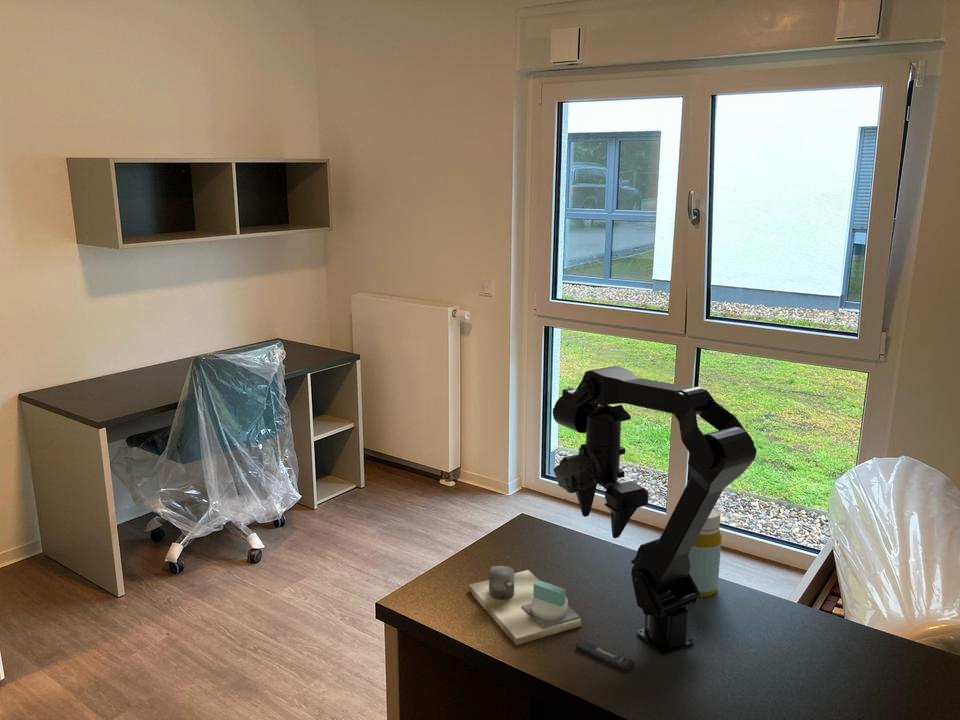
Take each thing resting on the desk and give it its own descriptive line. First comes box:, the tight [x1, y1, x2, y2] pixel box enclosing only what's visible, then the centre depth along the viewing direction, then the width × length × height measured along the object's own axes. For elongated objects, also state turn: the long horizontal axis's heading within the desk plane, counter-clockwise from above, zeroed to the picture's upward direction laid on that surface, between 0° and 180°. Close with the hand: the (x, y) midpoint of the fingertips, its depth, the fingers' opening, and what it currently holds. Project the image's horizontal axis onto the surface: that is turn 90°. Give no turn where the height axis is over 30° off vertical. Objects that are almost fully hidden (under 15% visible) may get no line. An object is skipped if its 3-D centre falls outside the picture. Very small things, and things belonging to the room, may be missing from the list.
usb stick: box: [575, 637, 635, 673], centre depth 118 cm, size 10×3×2 cm, turn 50°
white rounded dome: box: [531, 579, 569, 621], centre depth 128 cm, size 6×6×4 cm
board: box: [468, 565, 582, 646], centre depth 131 cm, size 18×12×5 cm, turn 25°
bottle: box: [689, 506, 722, 598], centre depth 136 cm, size 7×7×15 cm
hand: (600, 526), depth 133 cm, fingers open, 9 cm apart
